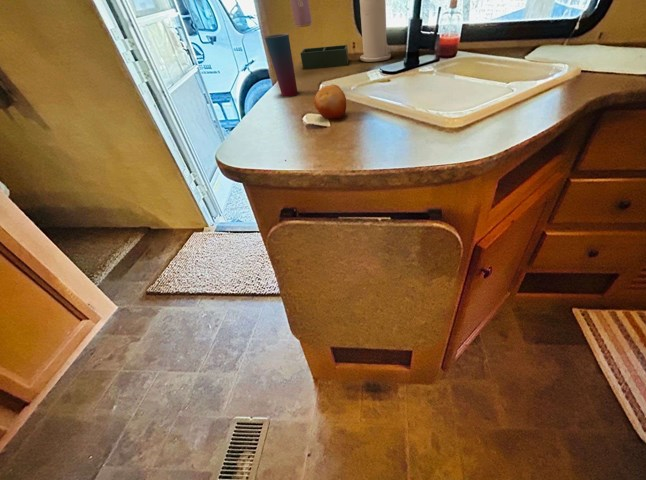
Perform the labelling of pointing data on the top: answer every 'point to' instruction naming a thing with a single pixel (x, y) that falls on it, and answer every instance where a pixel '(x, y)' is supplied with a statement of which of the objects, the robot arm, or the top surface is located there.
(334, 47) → the rack
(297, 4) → the beverage can
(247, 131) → the top surface
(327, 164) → the top surface
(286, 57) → the cup
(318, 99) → the fruit
